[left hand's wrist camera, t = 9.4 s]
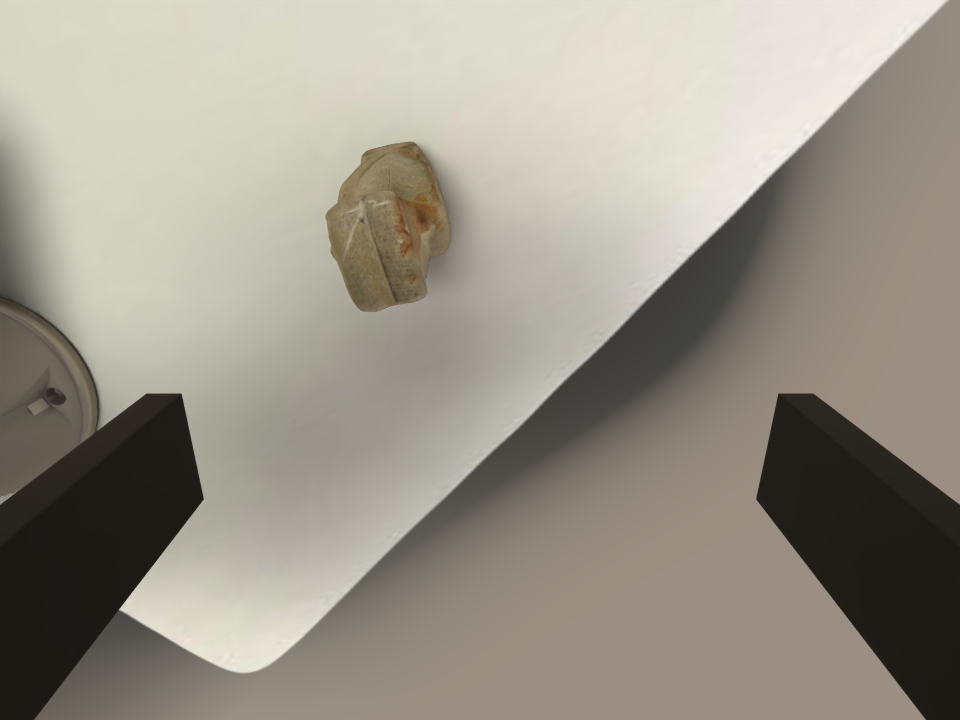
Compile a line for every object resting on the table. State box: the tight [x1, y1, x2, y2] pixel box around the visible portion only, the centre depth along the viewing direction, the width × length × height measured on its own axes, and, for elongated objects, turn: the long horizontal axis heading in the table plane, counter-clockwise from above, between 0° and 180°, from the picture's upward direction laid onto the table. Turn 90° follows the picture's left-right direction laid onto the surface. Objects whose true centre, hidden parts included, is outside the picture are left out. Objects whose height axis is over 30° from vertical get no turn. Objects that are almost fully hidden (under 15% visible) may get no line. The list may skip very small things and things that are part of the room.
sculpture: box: [325, 142, 451, 312], centre depth 30 cm, size 6×7×15 cm
